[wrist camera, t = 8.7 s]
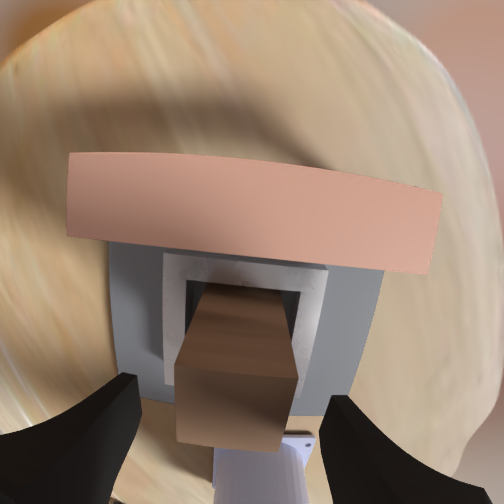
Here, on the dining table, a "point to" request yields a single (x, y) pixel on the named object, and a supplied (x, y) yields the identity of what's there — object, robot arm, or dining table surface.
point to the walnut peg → (235, 371)
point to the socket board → (246, 253)
